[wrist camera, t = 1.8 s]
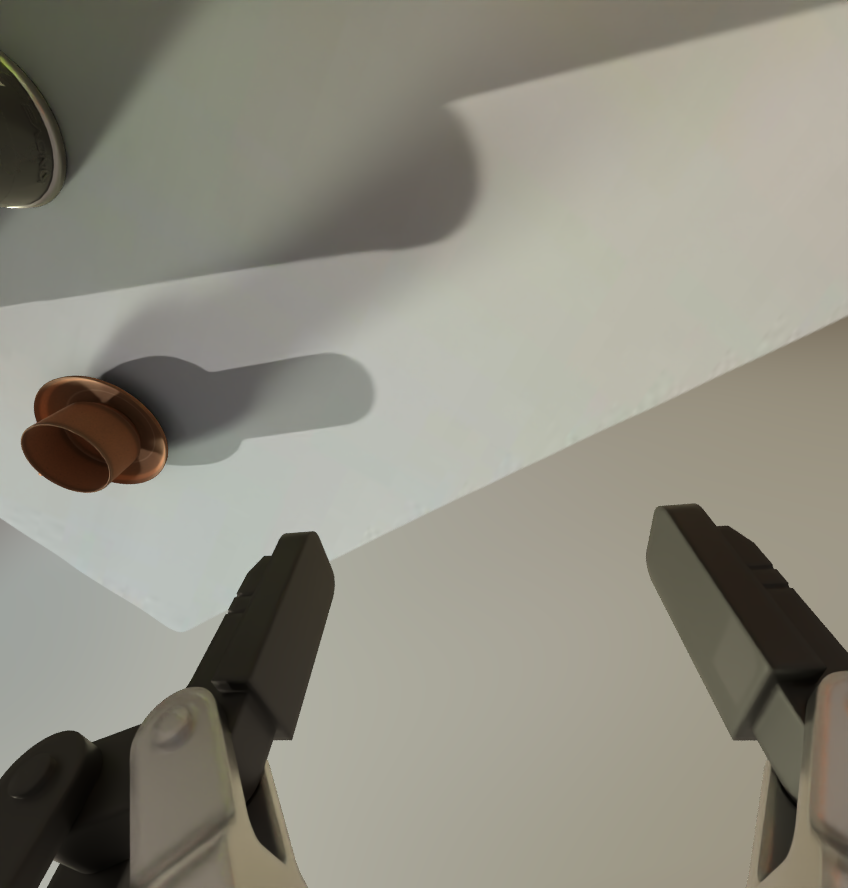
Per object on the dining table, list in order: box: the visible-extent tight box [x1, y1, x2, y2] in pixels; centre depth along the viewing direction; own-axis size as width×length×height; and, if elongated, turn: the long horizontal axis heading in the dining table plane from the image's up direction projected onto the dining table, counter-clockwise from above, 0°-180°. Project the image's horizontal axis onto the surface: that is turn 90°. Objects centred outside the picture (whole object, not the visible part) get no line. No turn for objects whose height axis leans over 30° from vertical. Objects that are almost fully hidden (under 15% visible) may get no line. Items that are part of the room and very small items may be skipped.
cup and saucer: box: [21, 376, 168, 493], centre depth 38 cm, size 12×12×6 cm
